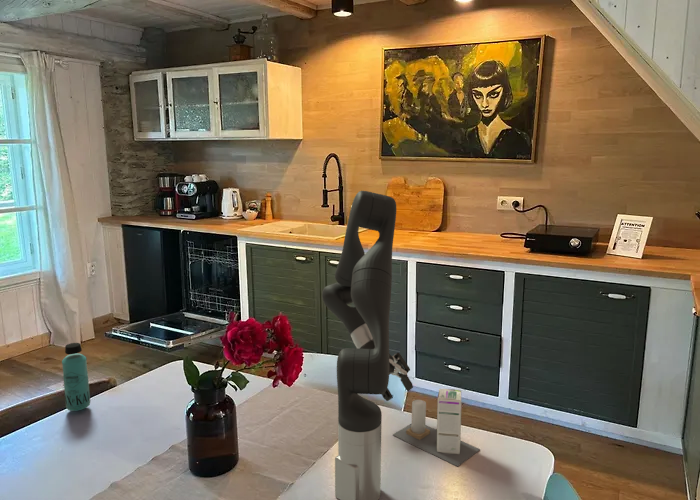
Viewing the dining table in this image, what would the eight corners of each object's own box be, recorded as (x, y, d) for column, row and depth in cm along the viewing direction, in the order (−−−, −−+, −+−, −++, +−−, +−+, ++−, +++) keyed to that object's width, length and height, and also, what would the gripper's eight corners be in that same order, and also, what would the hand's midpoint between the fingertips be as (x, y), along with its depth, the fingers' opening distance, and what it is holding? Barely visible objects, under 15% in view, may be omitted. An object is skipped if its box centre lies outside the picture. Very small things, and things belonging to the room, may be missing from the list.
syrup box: (460, 455, 134) (462, 400, 131) (435, 452, 135) (437, 397, 132) (460, 442, 139) (462, 389, 136) (436, 440, 140) (438, 387, 138)
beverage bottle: (66, 407, 158) (59, 342, 154) (92, 403, 161) (85, 338, 157) (65, 418, 152) (58, 350, 148) (92, 413, 155) (85, 346, 151)
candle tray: (457, 466, 130) (459, 432, 128) (392, 435, 143) (393, 403, 141) (480, 450, 136) (481, 416, 135) (416, 421, 150) (417, 391, 148)
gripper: (358, 342, 145) (390, 397, 139) (393, 329, 154) (425, 380, 149) (344, 356, 149) (375, 409, 144) (379, 342, 159) (409, 391, 154)
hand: (400, 394), depth 146 cm, fingers open, 8 cm apart
